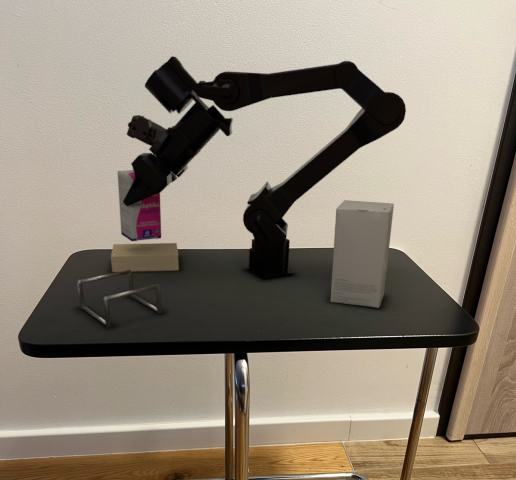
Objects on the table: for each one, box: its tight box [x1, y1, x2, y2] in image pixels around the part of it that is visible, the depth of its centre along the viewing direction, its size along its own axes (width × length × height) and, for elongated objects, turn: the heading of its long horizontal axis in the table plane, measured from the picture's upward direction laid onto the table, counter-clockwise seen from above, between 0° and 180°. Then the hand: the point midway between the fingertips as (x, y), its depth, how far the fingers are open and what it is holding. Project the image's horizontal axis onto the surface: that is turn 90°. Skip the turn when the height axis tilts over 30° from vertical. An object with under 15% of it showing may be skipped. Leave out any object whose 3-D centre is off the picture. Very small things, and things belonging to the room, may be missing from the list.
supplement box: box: [117, 169, 162, 242], centre depth 97 cm, size 6×6×12 cm
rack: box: [76, 270, 163, 329], centre depth 82 cm, size 9×9×5 cm
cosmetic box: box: [330, 199, 395, 309], centre depth 86 cm, size 8×7×16 cm
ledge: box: [110, 242, 180, 273], centre depth 102 cm, size 12×8×3 cm, turn 100°
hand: (131, 199), depth 97 cm, fingers closed on supplement box, 7 cm apart
